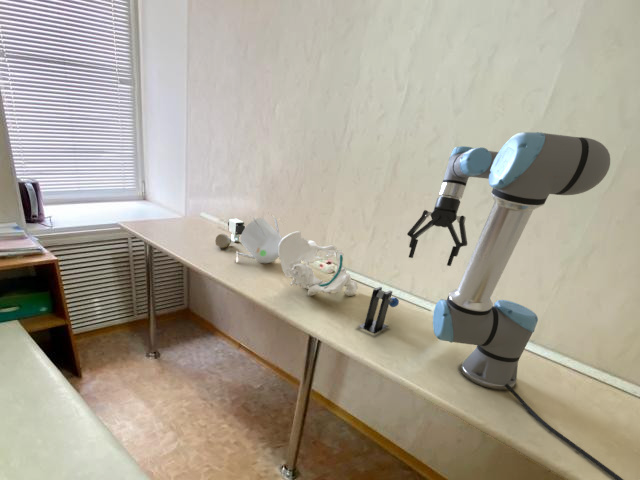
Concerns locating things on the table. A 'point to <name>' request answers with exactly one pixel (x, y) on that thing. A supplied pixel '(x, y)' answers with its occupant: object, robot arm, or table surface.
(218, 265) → the table surface
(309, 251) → the pelvis
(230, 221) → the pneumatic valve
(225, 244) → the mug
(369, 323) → the lever stand
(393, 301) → the tap lever
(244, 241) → the satellite
